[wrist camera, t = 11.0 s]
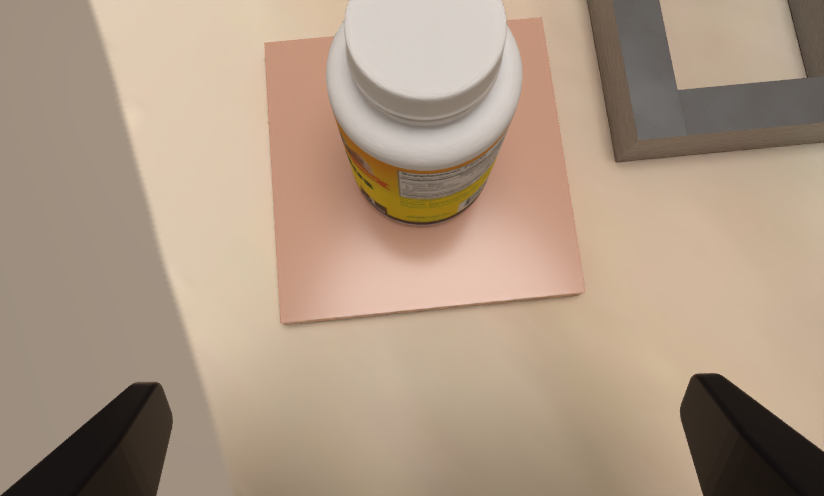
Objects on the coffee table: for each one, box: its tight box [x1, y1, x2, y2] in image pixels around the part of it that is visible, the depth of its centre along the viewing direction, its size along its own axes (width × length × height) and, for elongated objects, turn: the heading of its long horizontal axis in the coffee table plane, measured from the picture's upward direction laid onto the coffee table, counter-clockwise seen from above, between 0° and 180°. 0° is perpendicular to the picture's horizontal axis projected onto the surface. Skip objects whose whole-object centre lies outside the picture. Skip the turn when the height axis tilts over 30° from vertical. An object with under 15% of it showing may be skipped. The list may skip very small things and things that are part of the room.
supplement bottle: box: [326, 0, 523, 226], centre depth 19 cm, size 6×6×10 cm
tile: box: [264, 17, 586, 325], centre depth 24 cm, size 12×12×1 cm
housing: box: [587, 0, 824, 162], centre depth 25 cm, size 11×11×2 cm
